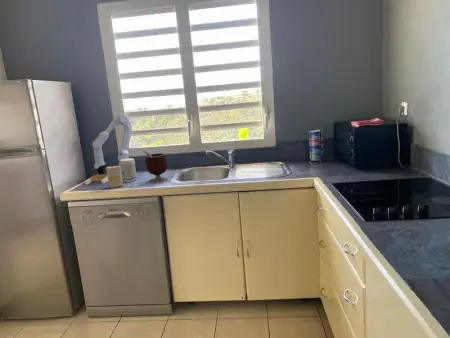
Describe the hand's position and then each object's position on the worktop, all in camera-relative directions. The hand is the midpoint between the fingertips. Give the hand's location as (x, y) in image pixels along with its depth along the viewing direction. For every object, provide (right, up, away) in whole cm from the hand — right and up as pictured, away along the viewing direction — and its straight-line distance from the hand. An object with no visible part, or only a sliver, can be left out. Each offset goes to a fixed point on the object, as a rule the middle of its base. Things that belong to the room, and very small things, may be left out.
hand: (101, 176), depth 251 cm
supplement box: (+18, -6, -25) cm, 31 cm away
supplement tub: (+23, -3, -10) cm, 25 cm away
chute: (0, -3, -5) cm, 6 cm away
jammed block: (0, -3, -3) cm, 4 cm away
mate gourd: (+42, -2, -16) cm, 45 cm away
